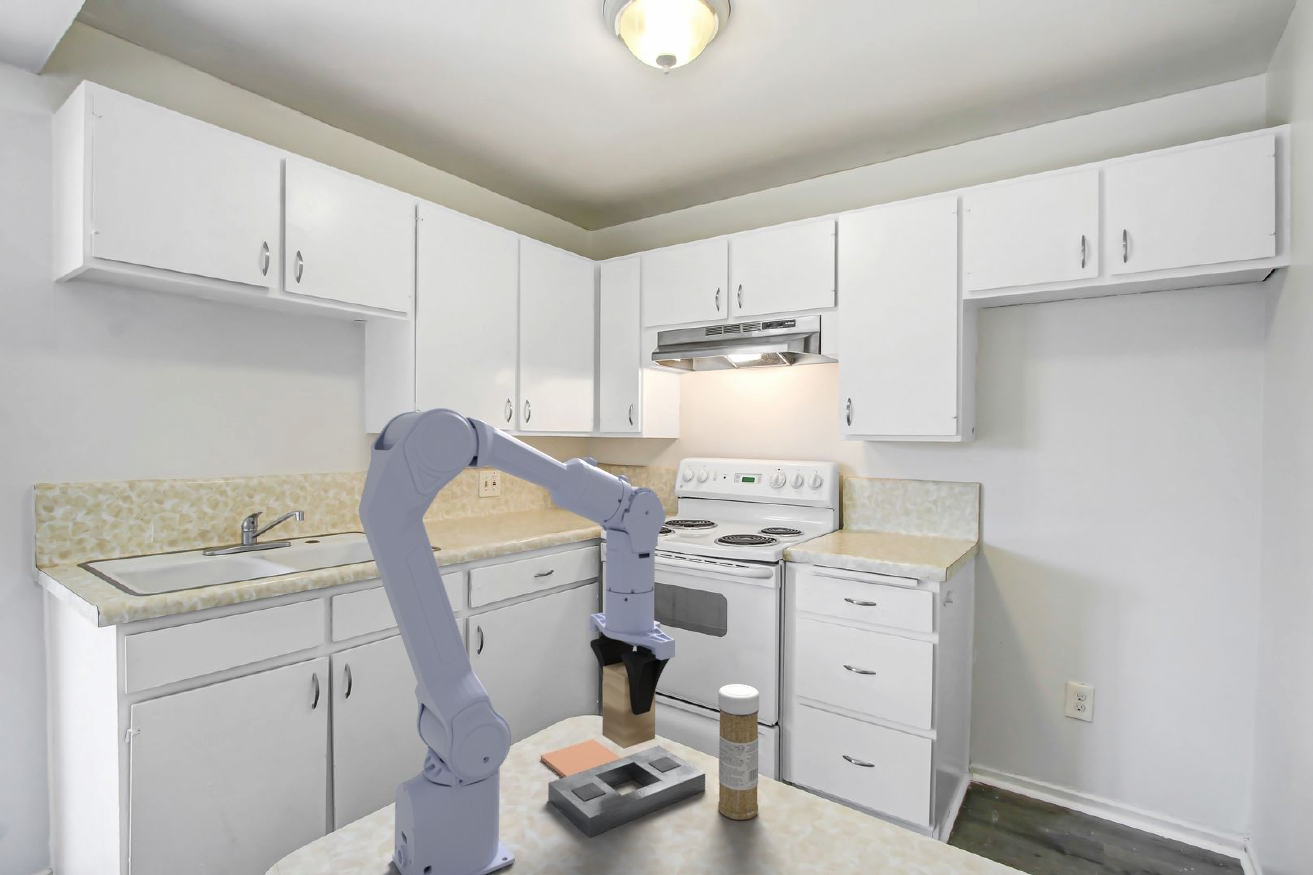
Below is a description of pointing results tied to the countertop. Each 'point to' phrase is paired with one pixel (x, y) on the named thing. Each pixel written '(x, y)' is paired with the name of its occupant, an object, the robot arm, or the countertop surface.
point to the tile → (579, 758)
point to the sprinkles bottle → (738, 751)
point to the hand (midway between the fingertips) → (628, 705)
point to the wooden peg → (623, 710)
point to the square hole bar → (605, 808)
